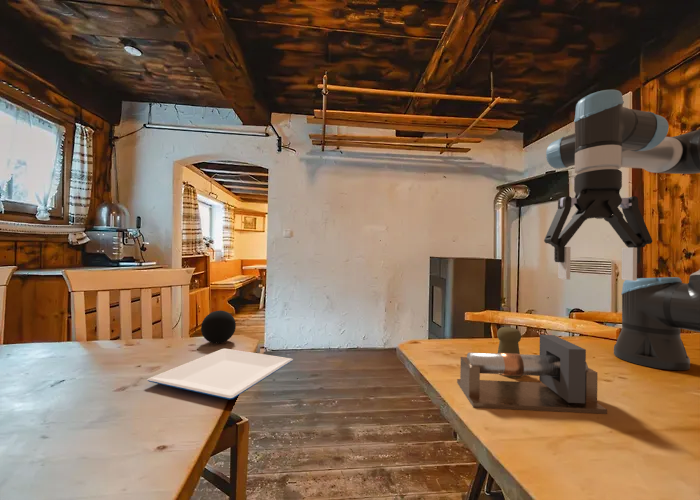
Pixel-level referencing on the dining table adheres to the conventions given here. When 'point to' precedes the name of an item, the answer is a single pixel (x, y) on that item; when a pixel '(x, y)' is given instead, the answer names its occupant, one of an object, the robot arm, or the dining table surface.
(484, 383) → the pipe rig
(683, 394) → the dining table surface
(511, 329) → the cork
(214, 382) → the plate
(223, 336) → the decorative ball
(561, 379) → the collar
